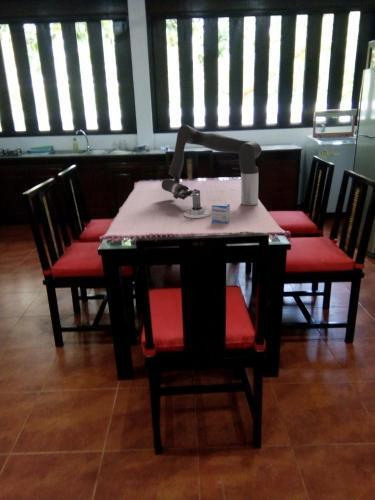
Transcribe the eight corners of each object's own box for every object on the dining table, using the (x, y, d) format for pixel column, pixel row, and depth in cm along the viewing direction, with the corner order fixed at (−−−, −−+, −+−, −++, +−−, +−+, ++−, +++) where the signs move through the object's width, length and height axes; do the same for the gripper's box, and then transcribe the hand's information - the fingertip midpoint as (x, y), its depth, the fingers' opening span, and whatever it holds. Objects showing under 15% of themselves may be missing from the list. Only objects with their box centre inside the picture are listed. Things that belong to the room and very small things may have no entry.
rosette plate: (185, 211, 212) (185, 205, 211) (211, 210, 210) (211, 204, 209) (182, 218, 199) (181, 212, 198) (209, 218, 197) (209, 211, 196)
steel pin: (193, 212, 207) (192, 193, 203) (201, 211, 206) (200, 193, 202) (192, 214, 203) (191, 195, 199) (200, 214, 202) (199, 195, 199)
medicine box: (211, 222, 190) (211, 205, 187) (214, 220, 194) (214, 202, 191) (227, 223, 187) (227, 206, 184) (230, 221, 191) (229, 203, 188)
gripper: (168, 185, 218) (178, 191, 204) (191, 182, 223) (203, 187, 208) (168, 199, 220) (179, 205, 206) (192, 195, 225) (204, 201, 211)
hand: (191, 196), depth 207 cm, fingers open, 8 cm apart
